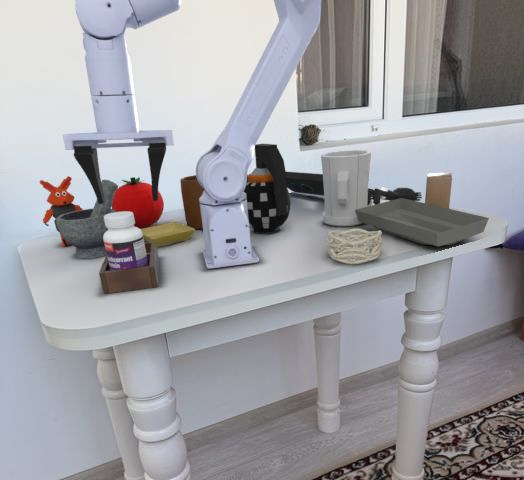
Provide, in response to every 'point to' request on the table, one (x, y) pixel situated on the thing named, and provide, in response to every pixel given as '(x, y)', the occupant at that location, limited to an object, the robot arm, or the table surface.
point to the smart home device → (305, 183)
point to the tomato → (138, 202)
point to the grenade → (267, 191)
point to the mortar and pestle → (88, 225)
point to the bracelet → (344, 242)
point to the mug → (192, 201)
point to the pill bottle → (124, 241)
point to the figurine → (392, 194)
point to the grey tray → (422, 221)
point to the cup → (345, 186)
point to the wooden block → (438, 189)
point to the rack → (131, 274)
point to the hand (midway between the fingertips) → (128, 201)
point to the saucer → (167, 233)
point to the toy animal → (59, 203)
